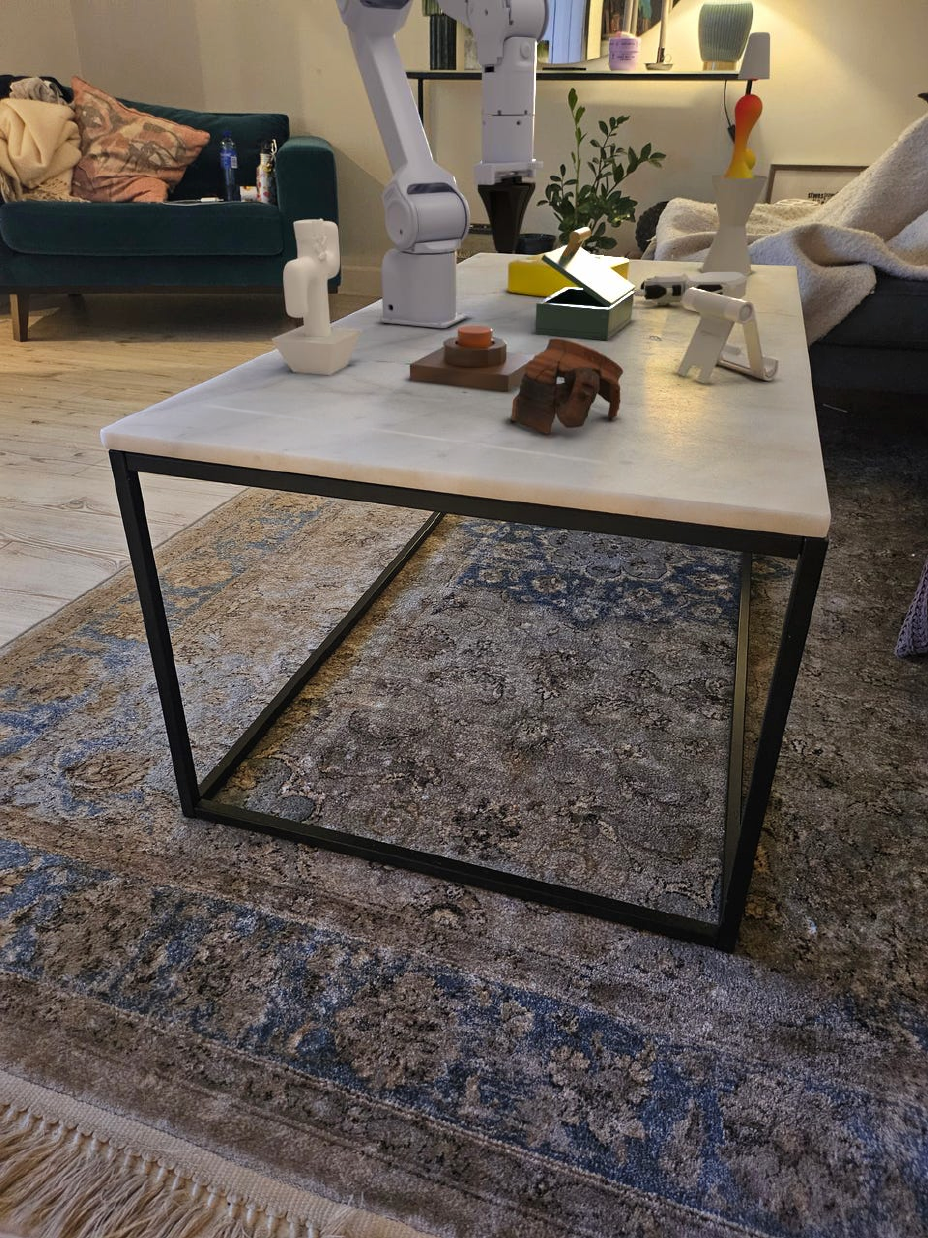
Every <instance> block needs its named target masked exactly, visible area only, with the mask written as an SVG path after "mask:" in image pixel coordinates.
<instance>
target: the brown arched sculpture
mask: <svg viewBox="0 0 928 1238" xmlns="http://www.w3.org/2000/svg"><path fill="white" fill-rule="evenodd" d="M525 371H526V373H525V374H524V376H523V378H522V380H521V383H520V384H519V392H518V394H516V395H515V397H514V398H513V400H512V408H511V415H510V418H509V419H510V421H514V422H518V423H519V424H520V425H521V426H524V427H526V428H529V429H532V430H534V431H537V432H539V433H542V434H545V435H546V436H548V435H550V434H551V429H552V425H553V423H554V421H555V418H556V417H557V419H558V420H559V422H560V424H562V426H564V427H565V428H567V429H573V428H580V427H583V426H584V424H585V422H586V420H587V419H588V416H589V412H590V410H591V406H592V405H593V403H594V402H595V401H596V398H597V395H598V396H599V397H601V398H602V399H603V400H604V401H606V402H607V403H608V404H609V406H608V413H607V417H608V419H609V420H612V419H614V418H616V417H618V416H617V415H618V411H619V410H620V404H621V385H620V384H619V380H620V378H621V377H622V375H623V374H624V370H623V368H622V367H621V366H620V365H619V364H618V363H617V362H615V361H614V360H612V359H611V358H610V357H608V356H607V355H605V354H603V353H600V352H599V351H598V350H595V349H594V348H591V347H589V346H586V345H584V344H581V343H578V342H575V341H572V340H569V339H568V340H567V339H563V338H556V337H555V338H550V339H549V340H548V343H547V346H546V349H545V350H543V351H540V352H539V353H538V354H536V356H535V357H534V358H533V359H532V360H530V361H529V363H528V365H527V366H526V367H525ZM558 378H561V379H563V382H561V383H557V382H558Z"/></svg>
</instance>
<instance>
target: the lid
mask: <svg viewBox="0 0 928 1238" xmlns="http://www.w3.org/2000/svg"><path fill="white" fill-rule="evenodd" d="M591 236H592V230H591V229H590V228H589V227H588V226H584V227H581V228H579V229H576V230H574V231H572V232H570V233H569V237H568V239H569V241H568V243H567V244H566V245H563V246H562V247H558V248H556V249H553V250H552V251H548V252H549V253H547V252H546V253H547V254H544V255H543V257H542V259H541V260H543V261H544V262H545V263H547V264H548V265H549V266H551V267H552V268H554V269H555V270H556V271H558V272H559V273H560V274H562V275H563V276H565V277H566V278H567V279H569V280H570V281H572V282H573V283H574V284H576V285H577V286H578V287H580V288H581V289H583V290H584V291H585V292H587V293H588V294H590V295H591V296H592V297H594V298H595V299H596V300H598V301H599V302H601V303H602V304H603V305H605V306H606V307H608V308H609V307H611V306H612V305H614V304H615V303H617V302H618V301H619V300H621V299H622V298H624V297H625V296H627V295H628V294H629V293H631V292H634V291H635V290H636V286H635V285H634V284H633V283H631V282H630V281H629V280H625V279H624V278H623V277H621V276H620V275H618V274H617V273H616V272H614V271H613V270H611V269H610V268H609V267H607V266H606V265H605V264H603V263H602V262H600V261H599V260H598V259H596V258H595V257H593V256H592V255H593V254H590V252H588V251H587V250H585V249H584V248H583V247H582V245H583V244H584V242H585V240H588V239H590V237H591Z"/></svg>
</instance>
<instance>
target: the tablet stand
mask: <svg viewBox="0 0 928 1238" xmlns="http://www.w3.org/2000/svg"><path fill="white" fill-rule="evenodd" d="M681 304H682V307H683V308H684V309H686V310H690V311H693V312H697V313H699V315H700V316H699V317H700V318H699V321H698V323H697V326H696V328H695V331H694V333H693V335H692V337H691V340H690V342H689V344H688V346H687V348H686V351H685V353H684V355H683V358H682V360H681V362H680V364H679V366H678V368H677V374H678V375H680V376H683V377H685V378H686V377H687V375H688V374H689V372H690V370H691V369H692V368H693V367H696V368H699V373H698V376H697V379H696V381H697V382H699V383H700V384H707V383H708V382H709V380H710V378H711V376H712V374H713V372H714V369H715V368H716V366H721V367H726V368H728V369H732V370H734V371H738V372H741V373H744V374H747V375H750V376H752V377H755V378H756V379H759V380H762V381H763V380H764V381H769V382H770V381H772V380H773V379H774V378H775V377H776V376H777V374H778V371H779V358H776V357H773V356H769V355H767V354H763V351H762V346H761V340H760V334H759V327H758V323H757V316H756V312H755V311H756V310H755V307H754V304H753V303H752V302H750V301H747V300H743V299H735V298H731V297H727V296H723V295H719V294H715V293H711V292H707V291H703V290H699V289H695V288H689V289H687V290H686V291H685V292H684V294H683V297H682V300H681ZM735 323H736V324H738V325H739V324H740V325H742V330H743V337H744V340H745V346H746V353H747V356H745V355H743V354H742V352H743V351H742V350H743V348H742V347H740V346H737V345H735V344H734V345H733V344H731V343H727V341H728V339H729V336H730V334H731V332H732V330H733V327H734V325H735Z"/></svg>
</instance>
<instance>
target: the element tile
mask: <svg viewBox="0 0 928 1238" xmlns="http://www.w3.org/2000/svg"><path fill="white" fill-rule="evenodd" d="M549 252H550V251H548V252H544V253H539V254H535V255H532V256H527V257H524V258H519V259H515V260H511V261H509V262H508V265H507V266H508V268H507V291H508V292H509V293H512V294H518V295H519V294H520V295H527V296H536V297H543V298H544V297H546V298H547V297H549V296H551V295H553V294H555V293H556V292H558V291H560V290H562V289H564V288H566V287H569V288H580V287H578V286H577V285H576V284H574V283H573V282H572V281H570V280H569V279H567V278H566V277H565V276H563V275H562V274H560V273H559V272H558V271H556V270H555V269H554V268H552V267H551V266H549V265H548V264H547V263H545V262H544V261H543V260H541V259H542V257H543V255H544V254H547V253H549ZM591 255H592V256H593V257H595V258H596V259H598V260H599V261H600V262H602V263H603V264H605V265H606V266H607V267H609V268H610V269H611V270H613V271H614V272H616V273H617V274H618V275H620V276H621V277H623V278H624V279H625V280H627V281H629V280H628V279H629V268H630V260H629V259H628V258H625V257H616V256H615V257H614V256H604V255H596V254H591Z"/></svg>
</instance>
